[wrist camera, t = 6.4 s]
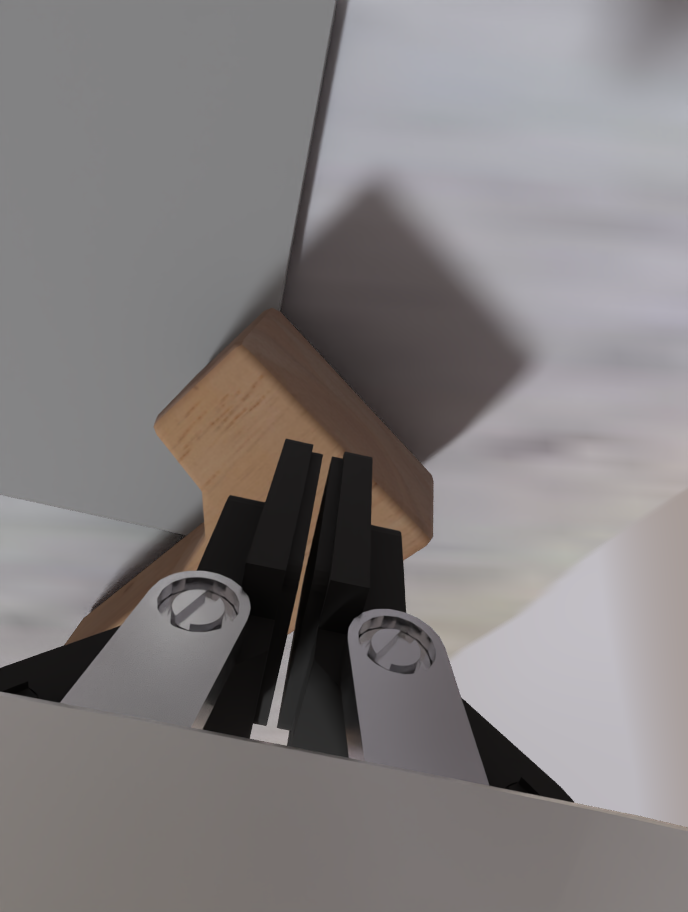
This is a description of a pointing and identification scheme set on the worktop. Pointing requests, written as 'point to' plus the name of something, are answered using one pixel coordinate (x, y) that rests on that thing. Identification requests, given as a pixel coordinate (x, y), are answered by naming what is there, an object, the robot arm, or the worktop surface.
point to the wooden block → (271, 448)
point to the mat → (139, 226)
